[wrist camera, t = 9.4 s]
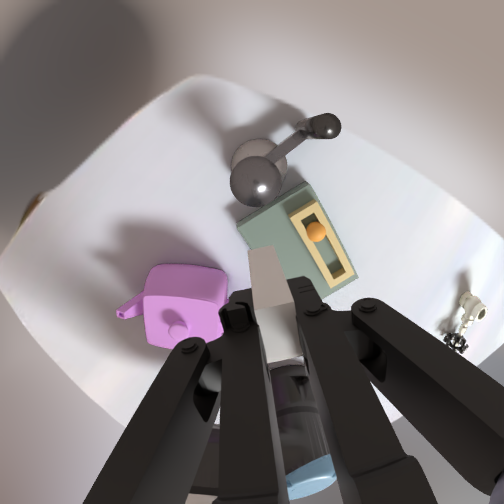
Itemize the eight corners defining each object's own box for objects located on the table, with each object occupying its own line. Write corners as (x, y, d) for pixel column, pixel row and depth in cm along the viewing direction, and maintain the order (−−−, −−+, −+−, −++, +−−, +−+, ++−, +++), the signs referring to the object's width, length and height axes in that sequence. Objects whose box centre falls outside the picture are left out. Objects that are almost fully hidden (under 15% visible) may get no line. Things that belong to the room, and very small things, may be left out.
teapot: (135, 313, 44) (115, 353, 35) (130, 255, 41) (103, 288, 31) (241, 325, 46) (243, 368, 37) (248, 266, 42) (252, 304, 33)
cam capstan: (253, 202, 38) (259, 225, 28) (219, 163, 36) (211, 171, 26) (327, 144, 36) (358, 147, 26) (295, 103, 33) (316, 90, 23)
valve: (458, 289, 46) (438, 337, 51) (476, 305, 40) (452, 355, 45) (476, 289, 47) (456, 335, 51) (494, 304, 41) (471, 351, 45)
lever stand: (352, 270, 43) (365, 285, 38) (292, 305, 45) (298, 324, 40) (305, 181, 38) (315, 187, 33) (236, 223, 39) (236, 234, 35)
